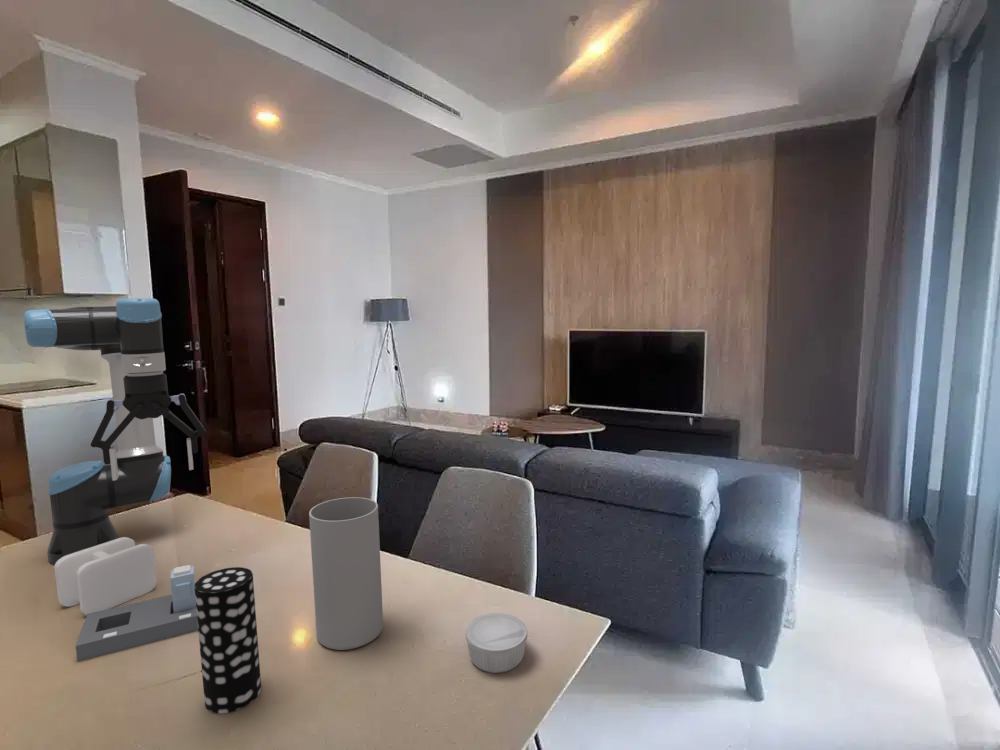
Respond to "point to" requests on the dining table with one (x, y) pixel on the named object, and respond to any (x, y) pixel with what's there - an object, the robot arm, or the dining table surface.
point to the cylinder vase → (346, 572)
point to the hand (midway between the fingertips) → (154, 473)
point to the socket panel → (132, 627)
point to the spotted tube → (228, 639)
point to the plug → (183, 588)
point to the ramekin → (496, 642)
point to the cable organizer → (105, 575)
